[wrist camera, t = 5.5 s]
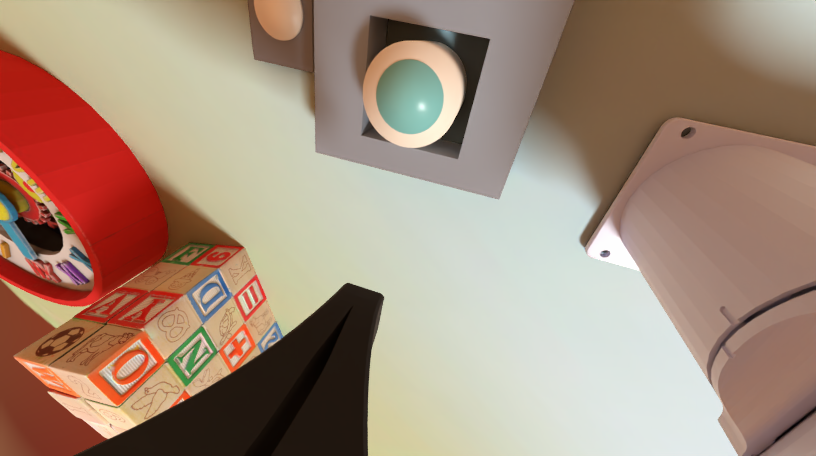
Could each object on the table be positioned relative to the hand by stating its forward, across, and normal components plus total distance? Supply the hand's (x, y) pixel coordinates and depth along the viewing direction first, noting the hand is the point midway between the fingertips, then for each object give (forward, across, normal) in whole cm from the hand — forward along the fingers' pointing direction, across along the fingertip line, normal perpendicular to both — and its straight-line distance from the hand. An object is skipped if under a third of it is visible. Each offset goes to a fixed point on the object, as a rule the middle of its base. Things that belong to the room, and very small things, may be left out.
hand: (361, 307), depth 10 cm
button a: (+10, +1, -6) cm, 11 cm away
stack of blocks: (+10, +14, +21) cm, 27 cm away
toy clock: (+10, +31, +8) cm, 34 cm away
